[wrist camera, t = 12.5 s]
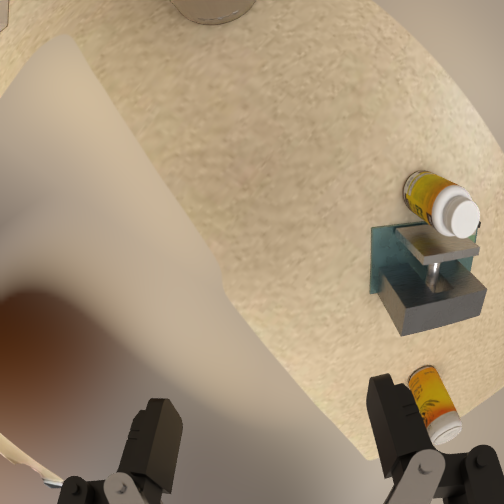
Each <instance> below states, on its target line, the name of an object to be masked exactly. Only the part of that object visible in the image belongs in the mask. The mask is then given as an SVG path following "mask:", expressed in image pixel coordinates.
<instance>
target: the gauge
mask: <svg viewBox="0 0 504 504" xmlns="http://www.w3.org/2000/svg"><path fill="white" fill-rule="evenodd" d="M427 224H428V223H427V222H425V221H422V222H413V223H405V224H397V225H388V226H380V227H372V228H371V273H370V294H373V293H377V294H378V295H379V297H380V299H381V301H382V302H383V304H384V306H385V308H386V310H387V311H388V313H389V315H390V317H391V319H392V321H393V323H394V324H395V326H396V328H397V330H398V332H399V334H400V336H405V335H410V334H414V333H418V332H422V331H426V330H430V329H434V328H438V327H442V326H445V325H449V324H452V323H456V322H459V321H463V320H466V319H470V318H473V317H476V316H479V315H480V312H481V309H482V306H483V302H484V299H485V295H486V291H487V288H486V287H485V286H484V285H483V284H482V283H481V282H480V281H479V280H478V279H477V278H476V277H475V276H474V275H473V274H472V273H471V272H470V271H471V266H472V261H473V256H471V257H466V258H461V259H456V260H450V261H445V262H440V268H439V275H438V281H437V286H436V292H435V293H433V292H432V291H431V290H430V289H429V287H428V286H427V285H426V284H425V281H426V275H427V267H428V265H422V264H421V263H420V261H419V260H418V259H417V258H416V257H415V256H414V255H413V254H412V253H411V252H410V251H409V250H408V249H407V247H406V246H405V245H404V244H403V243H402V242H401V241H400V240H399V239H398V238H397V237H396V236H395V230H396V228H402V227H410V226H418V225H427ZM477 229H478V228H476V230H475V231H474V233H473V234H472V235H470V236H469V237H468V238H469V239H470V240H472V241H473V242H474V243H476V236H477Z"/></svg>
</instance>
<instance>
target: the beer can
mask: <svg viewBox="0 0 504 504" xmlns="http://www.w3.org/2000/svg"><path fill="white" fill-rule="evenodd" d="M409 387H410V390H411V391H412V394H413V396H414V399H415V401H416V404H417V406H418V408H419V411H420V413H421V416H422V419H423V421H424V424H425V426H426V429H427V432H428V434H429V437H430V440H431V441H432V442H433V443H434V444H435V445H440V444H443V443H445V442H447V441H449V440H451V439H452V438H454V437H455V436H457V435H458V434H459V433H460V432H461V430H462V421H461V419H460V417H459V415H458V413H457V411H456V408H455V406H454V404H453V402H452V400H451V398H450V396H449V394H448V392H447V390H446V388H445V386H444V384H443V382H442V380H441V378H440V376H439V374H438V372H437V371H436V369H435V368H432V367H429V366H426V367H423V368H420V369H419V370H417V371H416V372H415V373H414V374H413V375H412V376H411V378H410V381H409Z"/></svg>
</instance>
